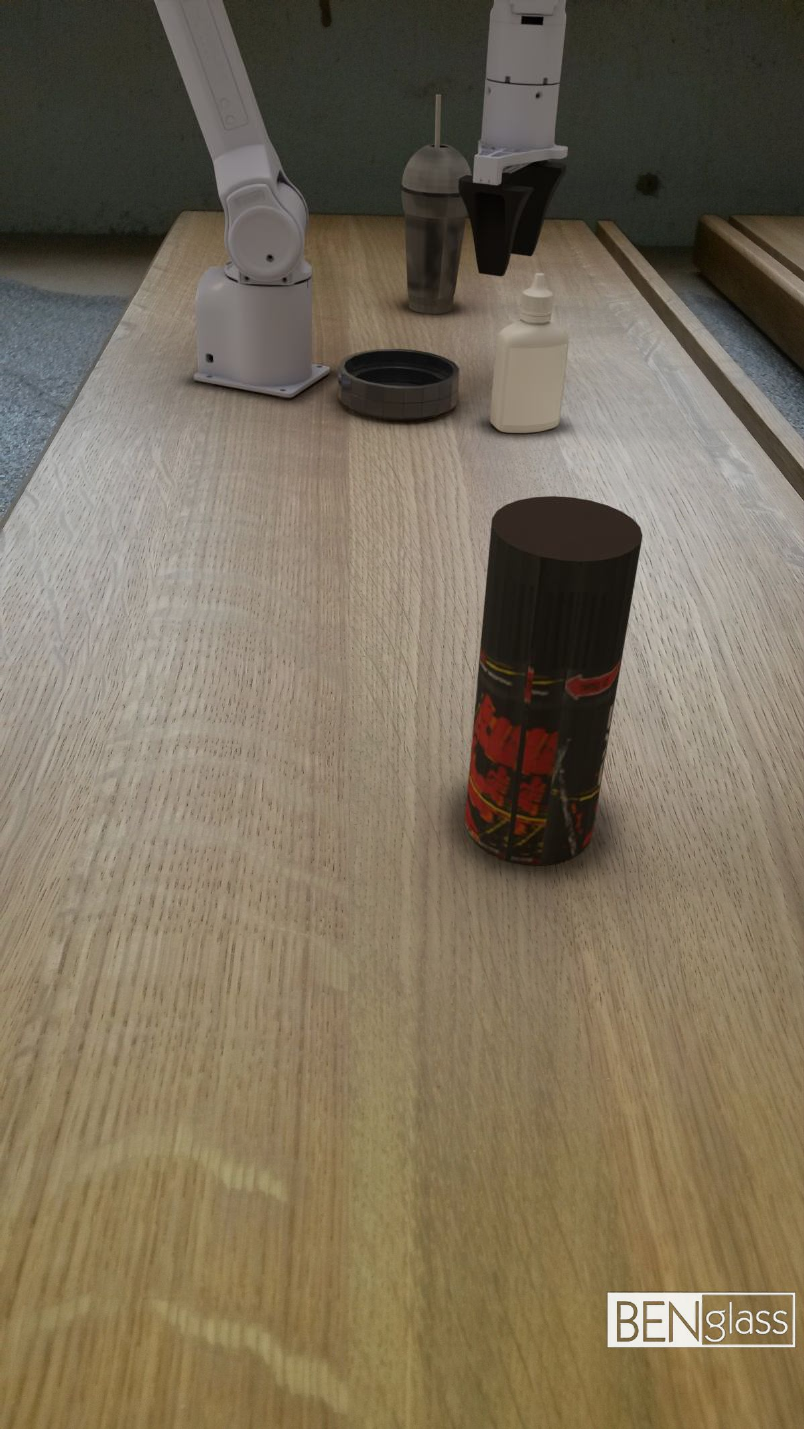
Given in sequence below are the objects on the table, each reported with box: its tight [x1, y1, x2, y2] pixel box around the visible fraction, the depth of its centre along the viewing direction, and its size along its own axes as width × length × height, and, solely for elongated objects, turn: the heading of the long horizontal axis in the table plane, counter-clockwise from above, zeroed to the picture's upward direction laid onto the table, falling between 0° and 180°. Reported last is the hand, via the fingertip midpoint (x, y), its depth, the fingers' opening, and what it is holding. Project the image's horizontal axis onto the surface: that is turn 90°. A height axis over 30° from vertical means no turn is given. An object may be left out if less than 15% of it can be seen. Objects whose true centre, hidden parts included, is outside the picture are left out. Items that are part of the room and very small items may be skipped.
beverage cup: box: [399, 94, 473, 315], centre depth 121 cm, size 7×7×20 cm
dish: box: [337, 348, 461, 422], centre depth 102 cm, size 10×10×3 cm
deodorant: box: [464, 495, 643, 866], centre depth 52 cm, size 6×6×15 cm
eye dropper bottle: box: [489, 272, 570, 434], centre depth 96 cm, size 4×6×12 cm
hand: (506, 263), depth 101 cm, fingers open, 7 cm apart
